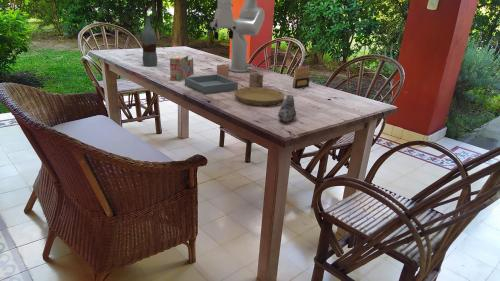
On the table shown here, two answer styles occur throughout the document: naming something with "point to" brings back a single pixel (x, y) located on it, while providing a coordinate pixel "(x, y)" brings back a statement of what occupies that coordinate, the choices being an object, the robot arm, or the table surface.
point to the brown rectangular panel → (301, 77)
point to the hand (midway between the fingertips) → (223, 38)
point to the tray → (211, 84)
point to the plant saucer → (259, 96)
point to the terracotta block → (223, 70)
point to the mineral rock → (287, 109)
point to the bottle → (149, 45)
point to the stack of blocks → (180, 67)
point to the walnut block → (256, 80)
